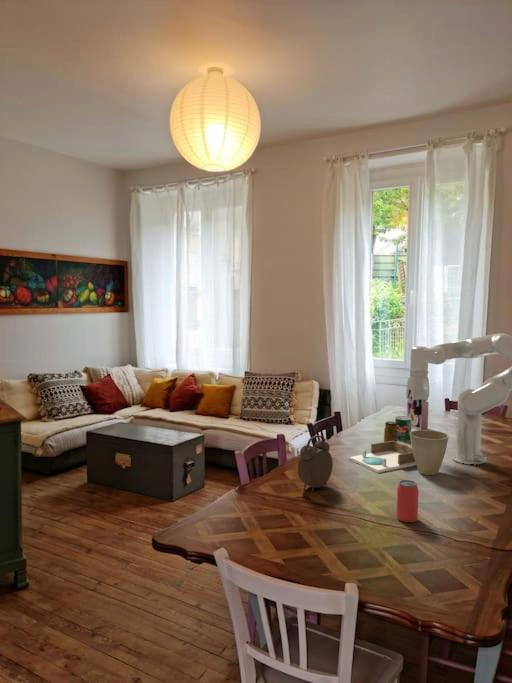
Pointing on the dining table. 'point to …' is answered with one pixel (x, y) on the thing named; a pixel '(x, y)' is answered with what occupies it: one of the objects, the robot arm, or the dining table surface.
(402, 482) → the beer can
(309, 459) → the alarm clock
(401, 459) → the tray
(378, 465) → the board
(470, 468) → the dining table surface
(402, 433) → the canned tomato
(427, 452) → the plant pot
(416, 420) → the pink box
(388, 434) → the condiment
